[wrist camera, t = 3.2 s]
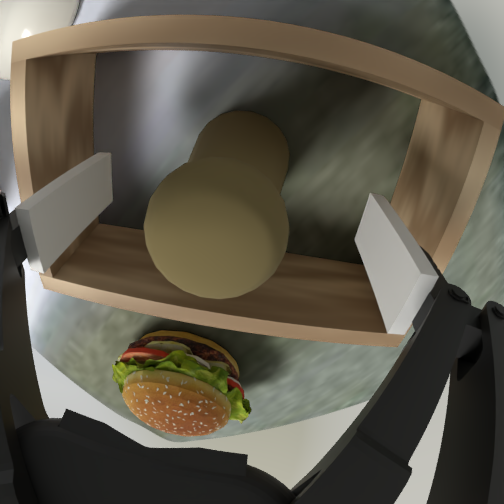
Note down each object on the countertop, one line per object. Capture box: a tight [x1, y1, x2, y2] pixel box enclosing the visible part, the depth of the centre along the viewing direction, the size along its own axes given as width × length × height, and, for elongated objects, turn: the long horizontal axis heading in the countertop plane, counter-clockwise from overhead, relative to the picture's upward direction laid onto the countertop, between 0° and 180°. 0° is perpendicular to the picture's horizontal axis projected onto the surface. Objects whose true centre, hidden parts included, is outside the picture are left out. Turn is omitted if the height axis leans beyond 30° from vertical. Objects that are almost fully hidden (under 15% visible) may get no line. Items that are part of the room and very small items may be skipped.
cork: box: [144, 110, 290, 299], centre depth 14 cm, size 6×6×11 cm
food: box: [112, 330, 251, 436], centre depth 28 cm, size 14×14×8 cm
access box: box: [10, 15, 504, 347], centre depth 16 cm, size 15×23×7 cm, turn 82°
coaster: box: [0, 0, 80, 80], centre depth 12 cm, size 11×11×1 cm
